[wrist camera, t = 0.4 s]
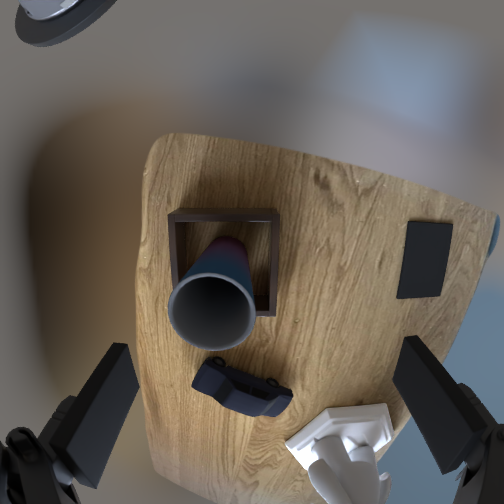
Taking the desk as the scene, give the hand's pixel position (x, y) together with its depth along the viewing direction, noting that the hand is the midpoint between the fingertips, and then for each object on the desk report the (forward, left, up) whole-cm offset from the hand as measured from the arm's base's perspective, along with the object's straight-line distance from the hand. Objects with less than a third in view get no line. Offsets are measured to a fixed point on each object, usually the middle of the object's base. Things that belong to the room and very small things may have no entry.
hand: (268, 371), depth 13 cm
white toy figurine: (+39, +17, -24) cm, 49 cm away
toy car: (+22, -2, -24) cm, 33 cm away
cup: (+2, -4, -24) cm, 25 cm away
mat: (+3, +24, -24) cm, 34 cm away
